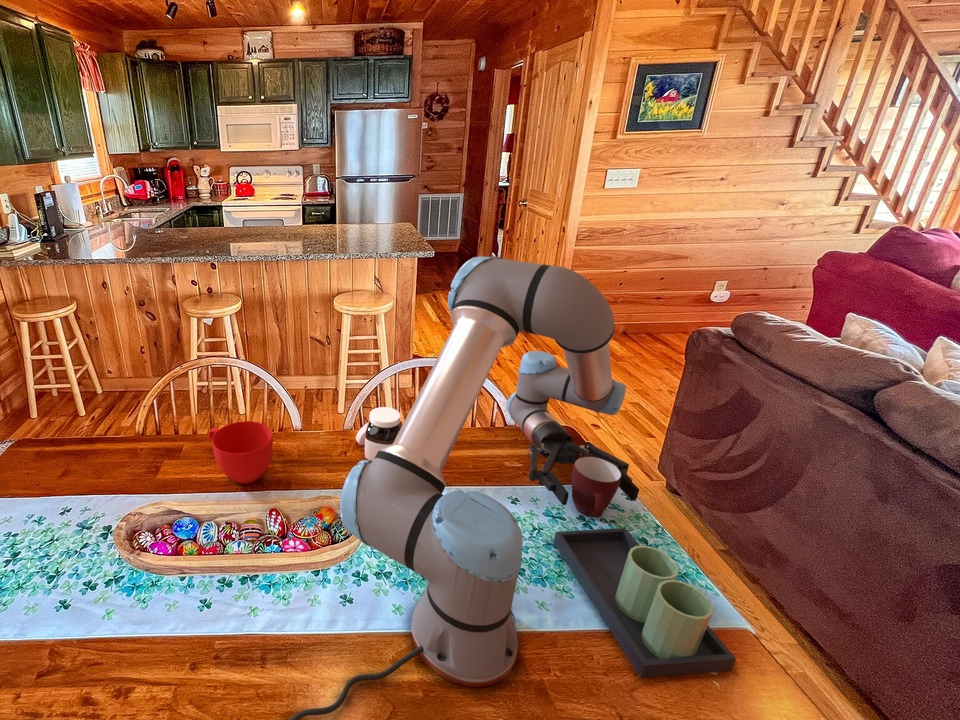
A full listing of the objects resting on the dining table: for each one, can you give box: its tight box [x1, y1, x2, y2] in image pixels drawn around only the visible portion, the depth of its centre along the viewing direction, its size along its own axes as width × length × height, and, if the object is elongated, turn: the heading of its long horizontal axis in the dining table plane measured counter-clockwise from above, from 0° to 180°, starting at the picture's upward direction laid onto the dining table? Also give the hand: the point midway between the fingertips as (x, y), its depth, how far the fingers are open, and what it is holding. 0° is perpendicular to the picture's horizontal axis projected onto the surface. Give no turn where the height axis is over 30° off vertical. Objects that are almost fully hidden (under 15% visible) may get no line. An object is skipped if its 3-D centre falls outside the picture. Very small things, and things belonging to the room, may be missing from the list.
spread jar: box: [355, 406, 403, 461], centre depth 117 cm, size 12×11×12 cm
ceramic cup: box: [208, 420, 274, 485], centre depth 112 cm, size 13×17×10 cm
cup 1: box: [615, 545, 680, 623], centre depth 78 cm, size 6×6×10 cm
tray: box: [553, 527, 737, 679], centre depth 81 cm, size 13×25×3 cm, turn 3°
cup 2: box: [641, 579, 714, 659], centre depth 72 cm, size 6×6×10 cm
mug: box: [571, 457, 621, 519], centre depth 98 cm, size 10×8×10 cm
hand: (601, 497), depth 95 cm, fingers open, 13 cm apart
